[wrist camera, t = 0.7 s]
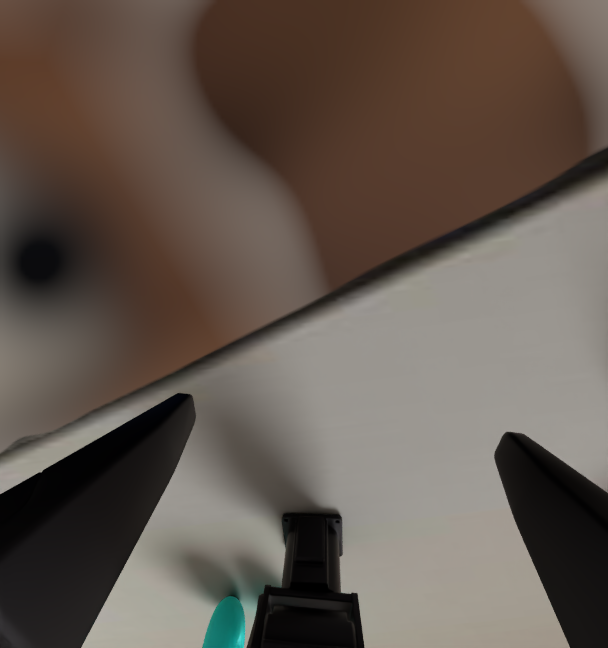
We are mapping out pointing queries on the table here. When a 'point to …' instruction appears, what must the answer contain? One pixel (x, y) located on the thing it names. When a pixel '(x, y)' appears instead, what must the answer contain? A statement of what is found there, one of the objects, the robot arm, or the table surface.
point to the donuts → (226, 625)
